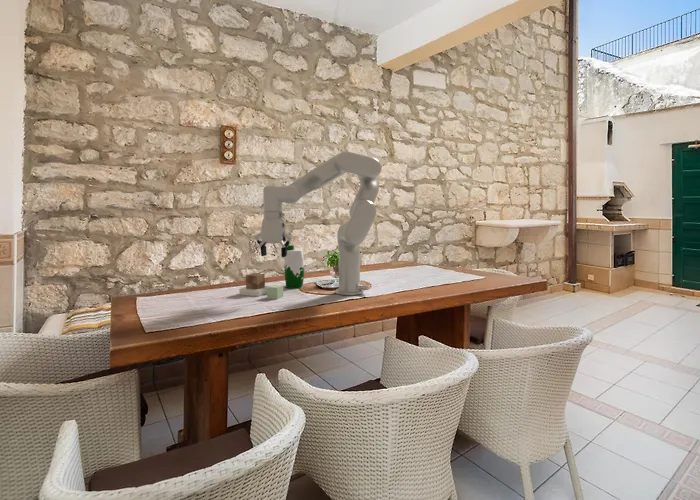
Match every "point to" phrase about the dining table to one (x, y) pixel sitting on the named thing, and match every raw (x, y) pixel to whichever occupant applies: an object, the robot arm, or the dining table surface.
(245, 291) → the stone base
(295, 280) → the milk carton
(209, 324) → the dining table surface
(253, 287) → the walnut block
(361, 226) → the robot arm
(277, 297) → the sage block
